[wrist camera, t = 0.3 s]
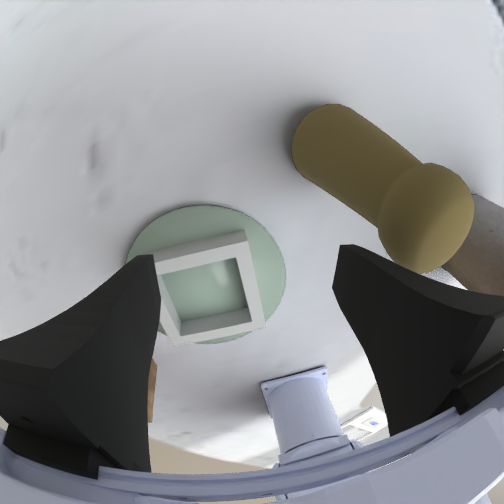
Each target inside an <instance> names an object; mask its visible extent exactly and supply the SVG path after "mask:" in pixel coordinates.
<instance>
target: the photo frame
mask: <svg viewBox="0 0 504 504" xmlns="http://www.w3.org/2000/svg"><path fill="white" fill-rule="evenodd" d="M367 408H369V409H367V410H366V411H364V412H362V413H361V414H359V415H357V416H356V417H354V418H352V419H350V420H349V421H347V422H345V423H343V424H342V425H340V426H341V428H343V427H345V426H347V425H349V424H350V425H353V426H355V427H358V428H361V429H364V430H367V431H370V432H369V433H368V434H366V435H364V436H362V437H360V438H359V439H357V441H360V440H362V439H364V438H366V437H368V436H369V435H371V434H373V433H375V432H376V431H378V430H380V429H382V428H383V427H385V426H386V425H388V423H387V418H386V413H385V412H384V411H382V410H380V409H378V408H377V407H375V406H373V405H370V406H369V407H367Z"/></svg>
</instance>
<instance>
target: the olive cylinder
mask: <svg viewBox="0 0 504 504" xmlns="http://www.w3.org/2000/svg"><path fill="white" fill-rule="evenodd" d="M292 158H293V161H294V164H295V166H296V169H297V170H298V171H299V172H300V173H301V175H302V176H303V177H305V178H306V179H308V180H309V181H311V182H312V183H314V184H315V185H317V186H319V187H320V188H322V189H323V190H325V191H326V192H328V193H329V194H331V195H332V196H334V197H335V198H337V199H338V200H339V201H341V202H342V203H344V204H345V205H347V206H348V207H350V208H351V209H352V210H354V211H355V212H357V213H358V214H359V215H361V216H362V217H364V218H365V219H366V220H368V221H369V222H370V223H372V224H373V225H375V226H376V227H377V228H378V234H379V238H380V240H381V242H382V244H383V246H384V248H385V250H386V252H387V253H388V255H389V256H390V257H391V259H392V260H393V261H394V262H395V263H396V264H398V265H400V266H402V267H404V268H407V269H409V270H411V271H413V272H415V273H418V274H421V273H427V272H430V271H433V270H435V269H437V268H439V267H440V266H442V265H443V264H444V263H446V262H447V261H448V260H449V259H450V258H451V257H452V256H453V255H454V254H455V253H456V252H457V250H458V249H459V248H460V246H461V245H462V243H463V242H464V240H465V238H466V237H467V235H468V233H469V230H470V228H471V225H472V221H473V217H474V200H473V198H472V195H471V193H470V190H469V189H468V187H467V185H466V183H465V182H464V181H463V180H462V179H461V177H460V176H459V175H457V174H456V173H454V172H453V171H451V170H449V169H447V168H445V167H443V166H440V165H437V164H434V163H426V164H422V163H421V162H420V161H419V160H418V159H417V158H416V157H414V156H413V155H412V154H411V153H410V152H409V151H407V150H406V149H405V148H404V147H403V146H401V145H400V144H399V143H398V142H396V141H395V140H394V139H392V138H391V137H390V136H389V135H387V134H386V133H385V132H383V131H382V130H381V129H379V128H378V127H377V126H375V125H374V124H373V123H371V122H370V121H368V120H367V119H365V118H364V117H363V116H361V115H360V114H358V113H357V112H355V111H354V110H352V109H351V108H349V107H346V106H343V105H340V104H326V105H323V106H321V107H318V108H316V109H314V110H312V111H311V112H310V113H309V114H308V115H307V116H305V117H304V118H303V120H302V121H301V123H300V124H299V126H298V127H297V129H296V131H295V134H294V137H293V141H292Z"/></svg>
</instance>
